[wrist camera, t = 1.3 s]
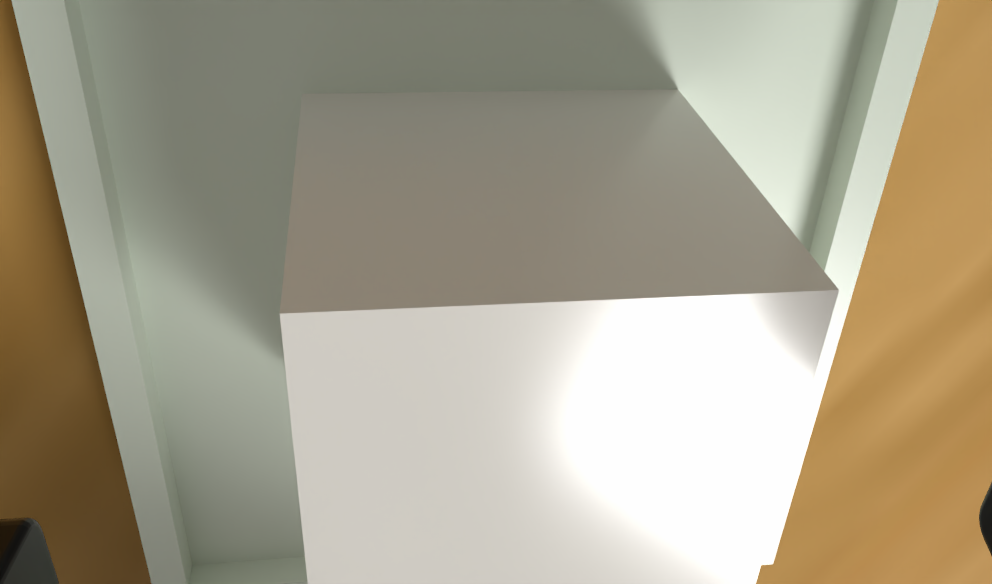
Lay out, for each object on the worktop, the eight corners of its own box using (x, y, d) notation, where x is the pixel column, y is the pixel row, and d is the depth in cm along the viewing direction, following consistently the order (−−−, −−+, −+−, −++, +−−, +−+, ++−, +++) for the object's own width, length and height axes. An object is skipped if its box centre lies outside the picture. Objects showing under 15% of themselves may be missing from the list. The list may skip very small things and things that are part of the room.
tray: (751, 520, 17) (772, 563, 16) (168, 564, 15) (159, 615, 15) (959, -262, 10) (1013, -256, 9) (-23, -302, 9) (-61, -299, 8)
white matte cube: (634, 379, 14) (739, 638, 10) (325, 396, 13) (317, 678, 10) (678, 89, 11) (839, 289, 8) (301, 93, 11) (279, 314, 7)
